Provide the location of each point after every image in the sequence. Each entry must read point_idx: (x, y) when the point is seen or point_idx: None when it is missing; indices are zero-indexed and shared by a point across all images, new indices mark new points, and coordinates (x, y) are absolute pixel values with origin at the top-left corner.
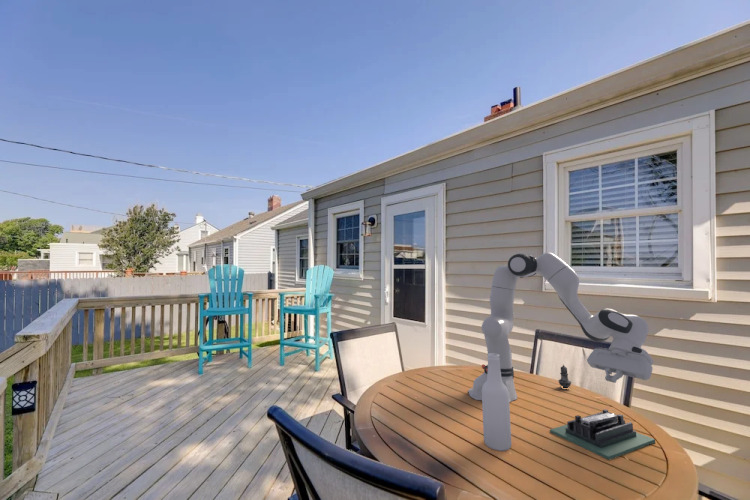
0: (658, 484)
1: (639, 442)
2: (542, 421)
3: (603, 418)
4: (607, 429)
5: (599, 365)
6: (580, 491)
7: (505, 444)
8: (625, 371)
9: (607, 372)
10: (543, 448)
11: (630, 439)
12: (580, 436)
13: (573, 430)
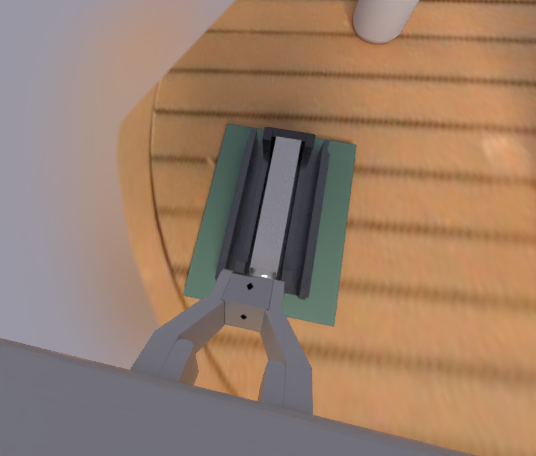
0: (154, 113)
1: (203, 241)
2: (399, 190)
3: (265, 202)
4: (245, 175)
5: (409, 441)
6: (226, 14)
7: (357, 3)
8: (69, 357)
9: (276, 331)
10: (321, 77)
11: (221, 242)
12: None
13: (312, 154)
